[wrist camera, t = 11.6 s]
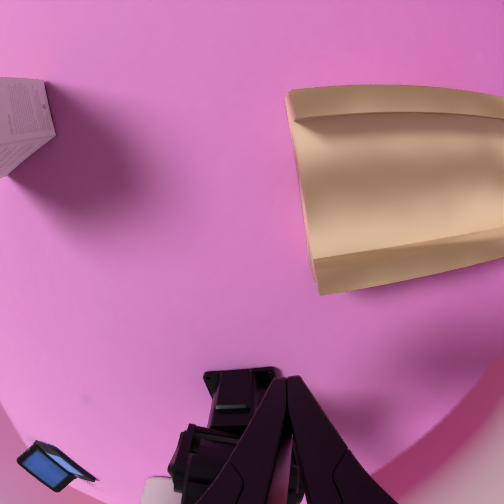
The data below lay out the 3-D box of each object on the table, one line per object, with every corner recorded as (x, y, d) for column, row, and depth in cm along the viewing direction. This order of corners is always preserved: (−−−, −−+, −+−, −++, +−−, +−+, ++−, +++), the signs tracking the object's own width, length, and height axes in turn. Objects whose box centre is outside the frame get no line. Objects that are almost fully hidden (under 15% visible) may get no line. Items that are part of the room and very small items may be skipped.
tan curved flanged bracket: (486, 232, 18) (521, 254, 14) (309, 262, 20) (320, 299, 15) (482, 99, 14) (522, 99, 10) (284, 99, 16) (290, 85, 11)
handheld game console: (98, 478, 45) (88, 506, 36) (67, 470, 47) (57, 493, 39) (54, 444, 39) (39, 474, 31) (28, 436, 42) (14, 461, 33)
